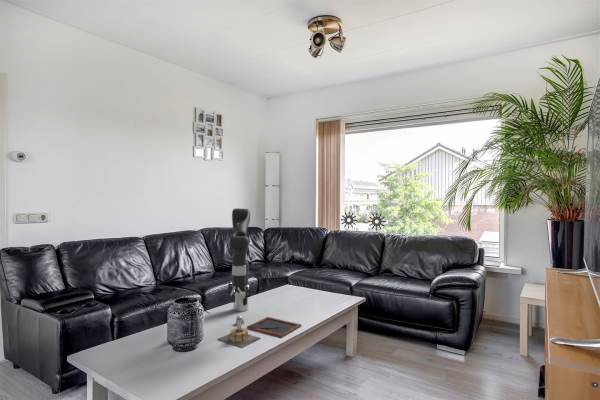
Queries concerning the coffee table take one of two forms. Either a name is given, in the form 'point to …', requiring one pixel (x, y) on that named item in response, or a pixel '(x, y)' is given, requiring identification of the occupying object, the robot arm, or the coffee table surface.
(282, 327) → the picture frame
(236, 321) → the bead
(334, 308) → the coffee table surface
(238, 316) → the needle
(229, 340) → the cake on slate board
